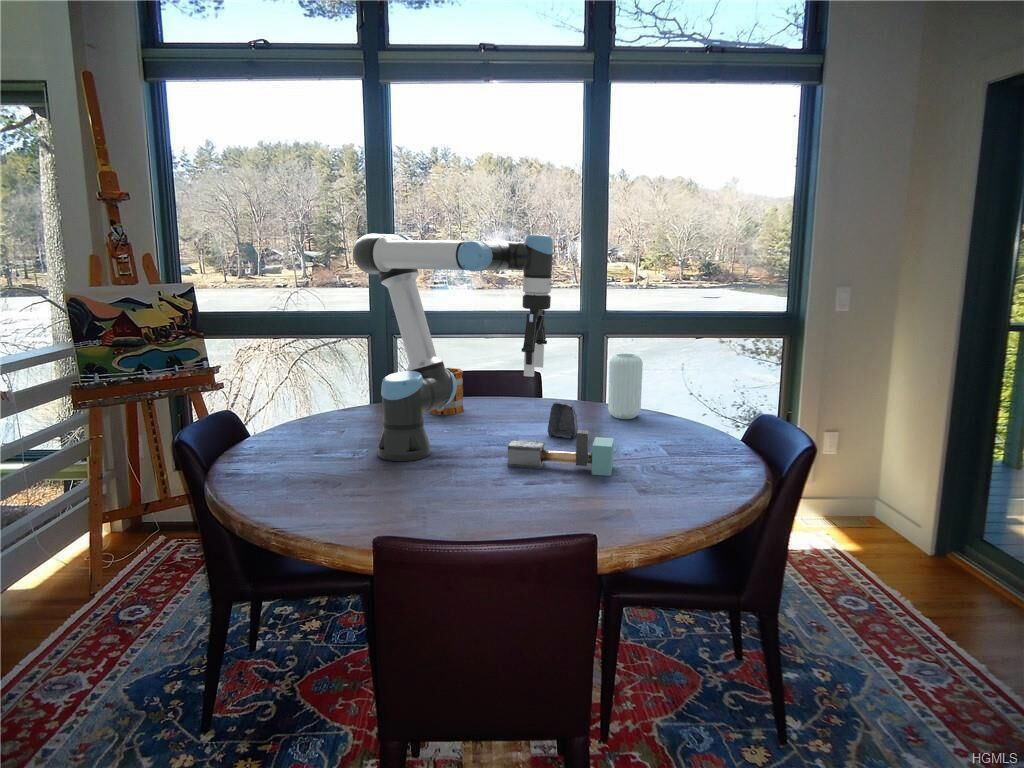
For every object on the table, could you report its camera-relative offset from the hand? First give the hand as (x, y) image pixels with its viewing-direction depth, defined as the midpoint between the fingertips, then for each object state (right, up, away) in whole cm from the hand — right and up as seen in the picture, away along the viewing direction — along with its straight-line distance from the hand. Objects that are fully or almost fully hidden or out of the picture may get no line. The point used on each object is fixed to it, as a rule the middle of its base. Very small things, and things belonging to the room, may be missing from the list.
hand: (533, 371), depth 179 cm
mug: (-31, -14, +59) cm, 68 cm away
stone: (+11, -20, +31) cm, 38 cm away
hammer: (+10, -25, -2) cm, 27 cm away
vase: (+34, -15, +54) cm, 66 cm away
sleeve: (-2, -26, +1) cm, 26 cm away
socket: (+18, -27, -4) cm, 33 cm away
